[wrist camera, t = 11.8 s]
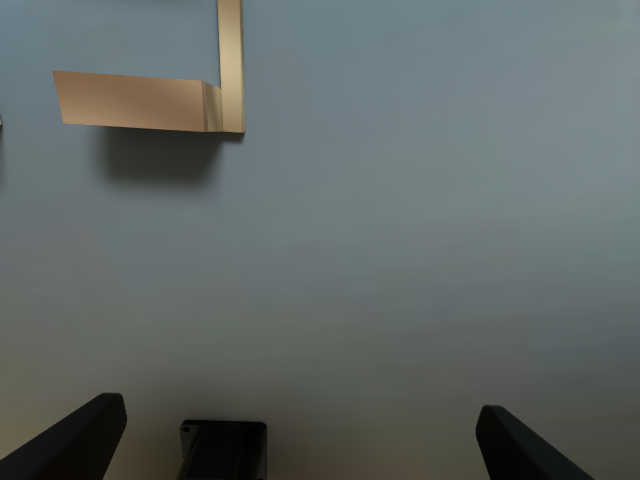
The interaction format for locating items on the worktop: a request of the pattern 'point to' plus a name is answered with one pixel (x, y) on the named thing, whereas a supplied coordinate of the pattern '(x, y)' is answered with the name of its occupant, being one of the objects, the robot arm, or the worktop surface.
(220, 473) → the robot arm
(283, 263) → the worktop surface
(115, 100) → the wooden joined piece
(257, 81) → the worktop surface
